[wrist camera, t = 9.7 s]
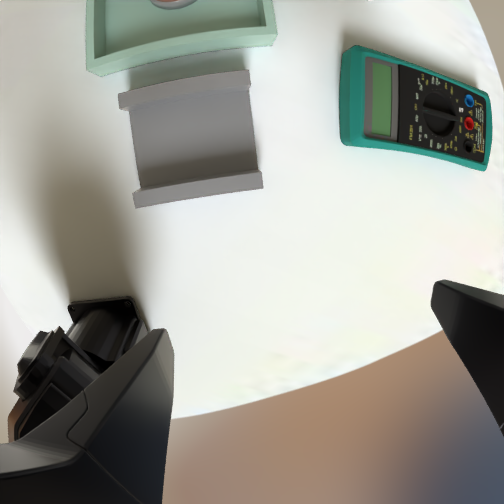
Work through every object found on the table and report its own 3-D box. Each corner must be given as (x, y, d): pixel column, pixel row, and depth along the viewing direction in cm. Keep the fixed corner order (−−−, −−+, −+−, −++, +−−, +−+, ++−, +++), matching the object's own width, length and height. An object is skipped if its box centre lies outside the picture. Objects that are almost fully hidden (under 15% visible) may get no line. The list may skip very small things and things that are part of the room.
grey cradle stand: (144, 200, 20) (135, 208, 18) (129, 98, 17) (117, 94, 15) (259, 183, 20) (263, 188, 18) (246, 77, 17) (248, 69, 15)
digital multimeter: (473, 169, 21) (494, 174, 19) (335, 144, 20) (351, 145, 17) (476, 96, 19) (497, 95, 16) (336, 51, 17) (352, 40, 15)
